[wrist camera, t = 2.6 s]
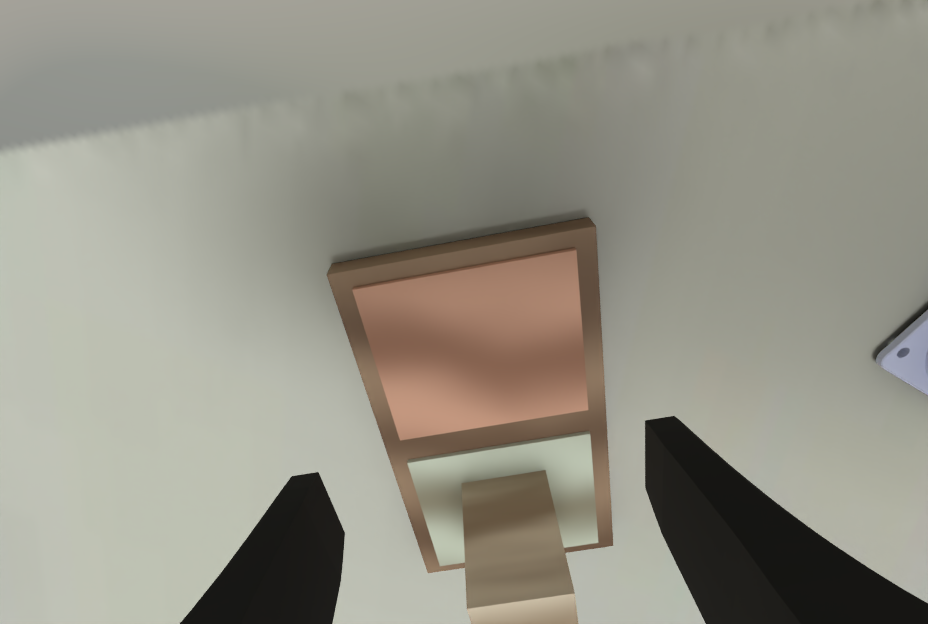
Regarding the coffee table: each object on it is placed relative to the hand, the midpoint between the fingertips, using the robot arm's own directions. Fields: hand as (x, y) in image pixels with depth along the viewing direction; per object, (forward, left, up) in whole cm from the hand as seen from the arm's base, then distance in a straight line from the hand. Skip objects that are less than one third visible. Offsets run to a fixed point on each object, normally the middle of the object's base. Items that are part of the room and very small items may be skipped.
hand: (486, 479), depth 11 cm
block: (+9, +8, -9) cm, 15 cm away
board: (+6, +5, -10) cm, 13 cm away
